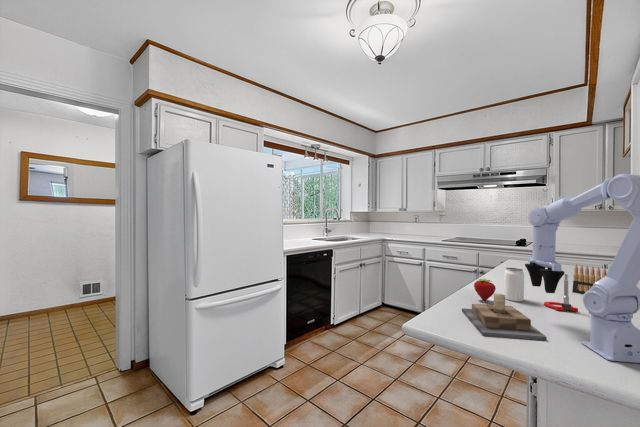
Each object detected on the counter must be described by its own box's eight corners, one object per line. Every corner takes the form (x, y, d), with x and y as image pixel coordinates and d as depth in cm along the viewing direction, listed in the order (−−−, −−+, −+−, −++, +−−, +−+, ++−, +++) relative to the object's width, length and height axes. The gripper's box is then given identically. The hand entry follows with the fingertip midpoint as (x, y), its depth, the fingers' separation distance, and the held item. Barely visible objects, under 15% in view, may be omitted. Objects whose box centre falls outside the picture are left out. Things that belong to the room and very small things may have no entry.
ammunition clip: (572, 292, 126) (572, 264, 126) (573, 291, 127) (573, 263, 127) (606, 298, 118) (607, 268, 118) (607, 297, 119) (608, 268, 119)
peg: (506, 322, 90) (506, 296, 89) (495, 322, 90) (496, 296, 90) (502, 319, 92) (502, 293, 92) (491, 318, 93) (492, 293, 93)
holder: (546, 340, 80) (546, 325, 80) (482, 335, 83) (482, 321, 83) (512, 314, 100) (512, 302, 100) (461, 311, 103) (461, 299, 102)
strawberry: (492, 304, 109) (492, 277, 109) (471, 299, 115) (471, 274, 115) (497, 301, 113) (498, 275, 113) (477, 297, 119) (477, 272, 119)
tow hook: (538, 304, 112) (554, 311, 103) (538, 269, 112) (554, 274, 103) (563, 305, 111) (581, 312, 102) (563, 270, 111) (581, 275, 102)
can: (504, 300, 115) (505, 269, 114) (503, 296, 120) (503, 266, 120) (524, 303, 112) (525, 271, 111) (522, 298, 117) (523, 268, 117)
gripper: (518, 243, 100) (517, 282, 100) (542, 248, 86) (541, 295, 86) (541, 243, 99) (541, 284, 99) (570, 249, 85) (569, 296, 85)
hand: (542, 289), depth 92 cm, fingers open, 7 cm apart
